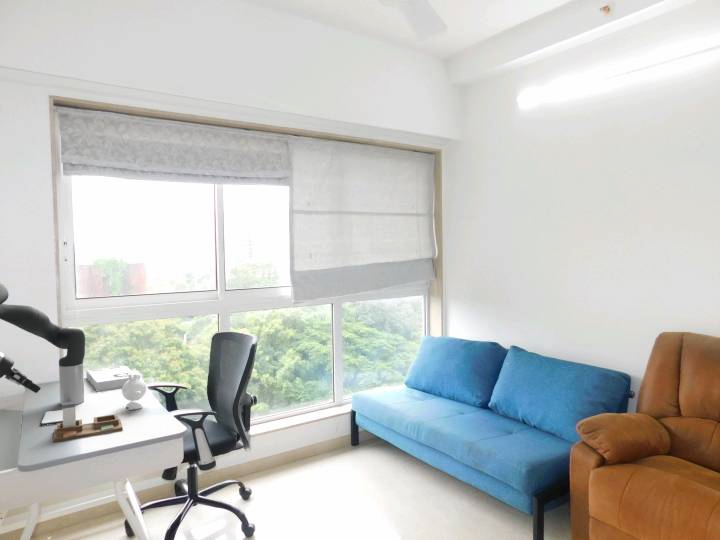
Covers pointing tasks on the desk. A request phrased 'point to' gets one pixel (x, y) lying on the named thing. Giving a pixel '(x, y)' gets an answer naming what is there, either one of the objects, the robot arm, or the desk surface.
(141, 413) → the desk surface
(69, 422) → the grey-capped white pillar
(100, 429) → the panel
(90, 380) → the power supply unit
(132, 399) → the toy robot
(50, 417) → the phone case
